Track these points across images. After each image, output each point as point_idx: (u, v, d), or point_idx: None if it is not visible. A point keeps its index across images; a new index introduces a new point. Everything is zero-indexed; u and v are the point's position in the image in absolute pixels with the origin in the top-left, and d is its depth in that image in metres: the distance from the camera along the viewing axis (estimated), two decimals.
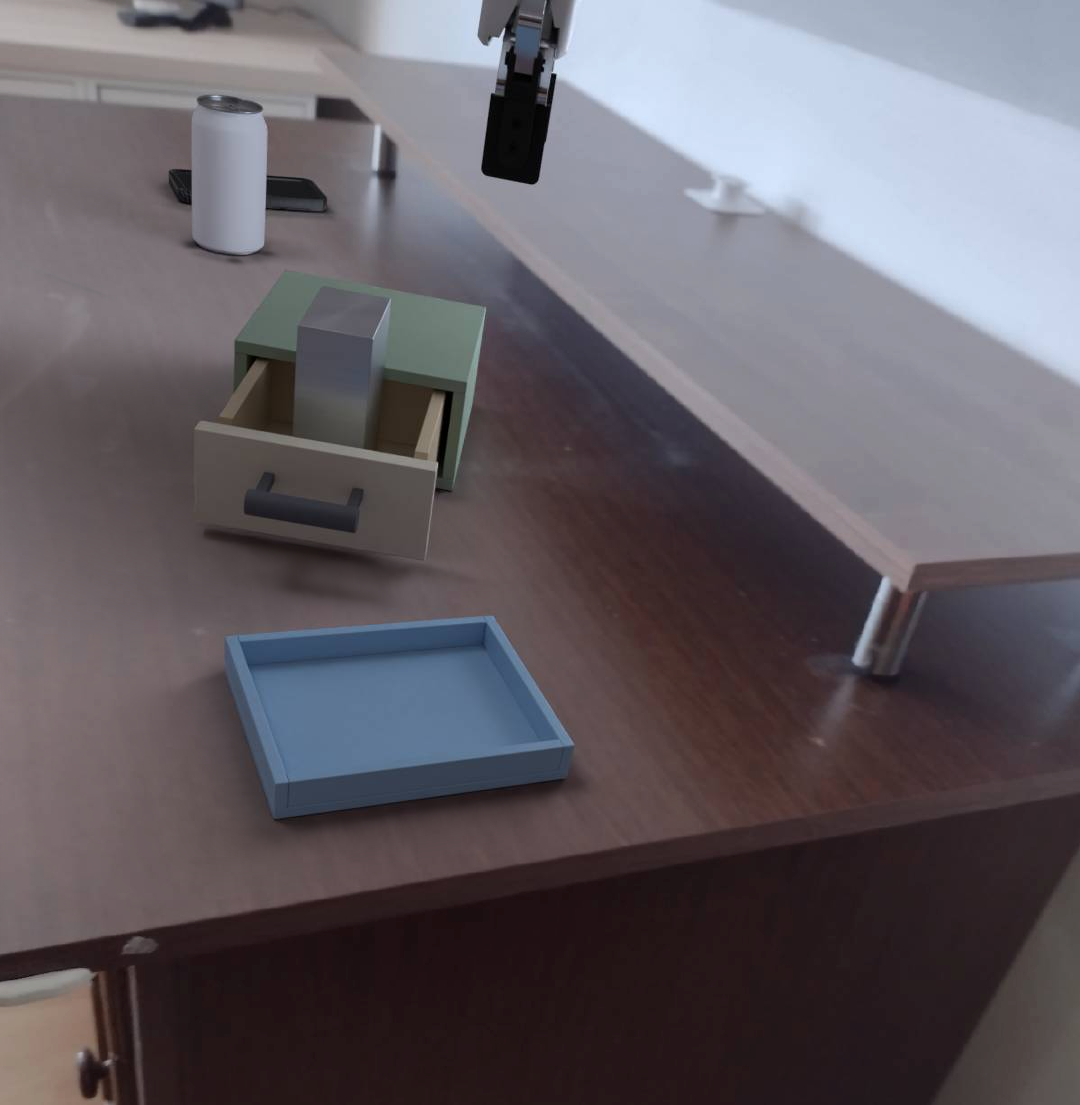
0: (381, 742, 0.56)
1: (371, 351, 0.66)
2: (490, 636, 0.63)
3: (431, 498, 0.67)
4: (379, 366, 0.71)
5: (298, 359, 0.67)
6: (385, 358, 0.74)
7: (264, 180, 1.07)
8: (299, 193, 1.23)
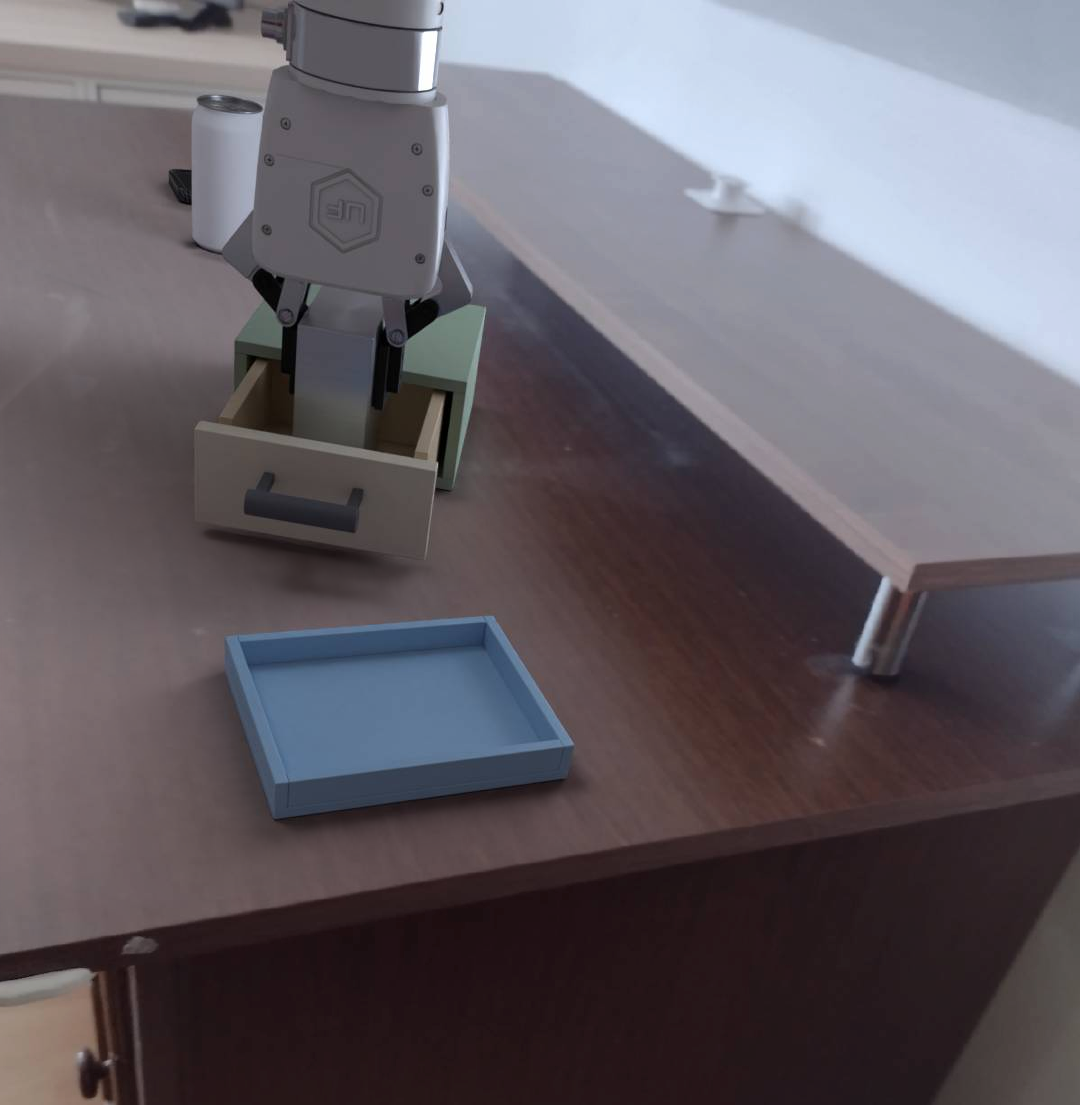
0: (381, 742, 0.56)
1: (371, 351, 0.66)
2: (490, 636, 0.63)
3: (431, 498, 0.67)
4: None
5: (298, 359, 0.67)
6: None
7: None
8: None
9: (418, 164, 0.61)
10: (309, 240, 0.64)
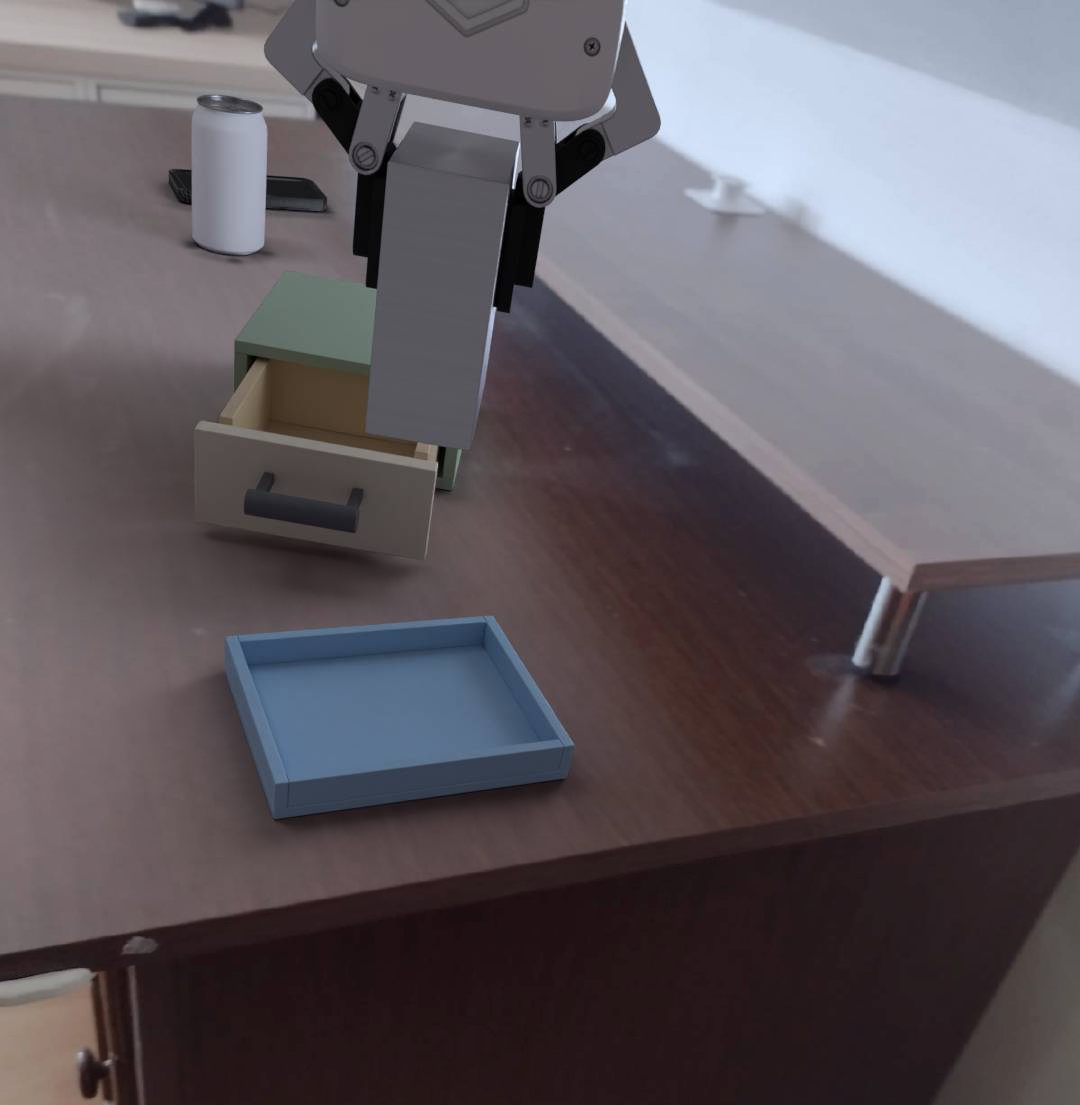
0: (381, 742, 0.56)
1: (504, 207, 0.41)
2: (490, 636, 0.63)
3: (431, 498, 0.67)
4: None
5: (387, 221, 0.42)
6: None
7: (264, 180, 1.07)
8: (299, 193, 1.23)
9: None
10: (411, 14, 0.39)
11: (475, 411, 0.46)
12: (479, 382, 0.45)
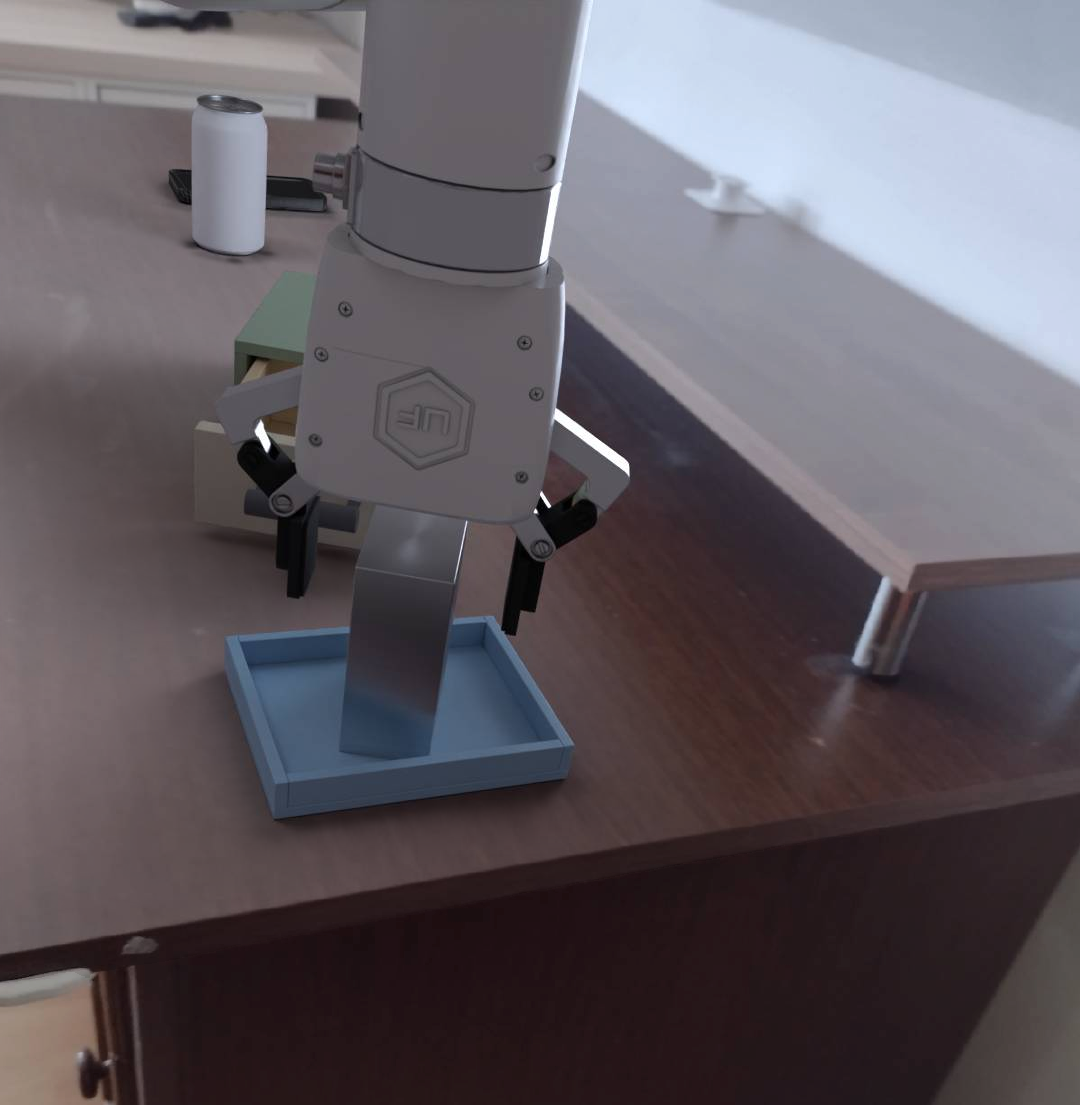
0: None
1: (451, 598, 0.50)
2: (490, 636, 0.63)
3: None
4: (455, 596, 0.55)
5: (355, 606, 0.51)
6: (459, 576, 0.57)
7: (264, 180, 1.07)
8: (299, 193, 1.23)
9: (525, 362, 0.45)
10: (373, 454, 0.47)
11: (431, 737, 0.55)
12: (434, 717, 0.54)
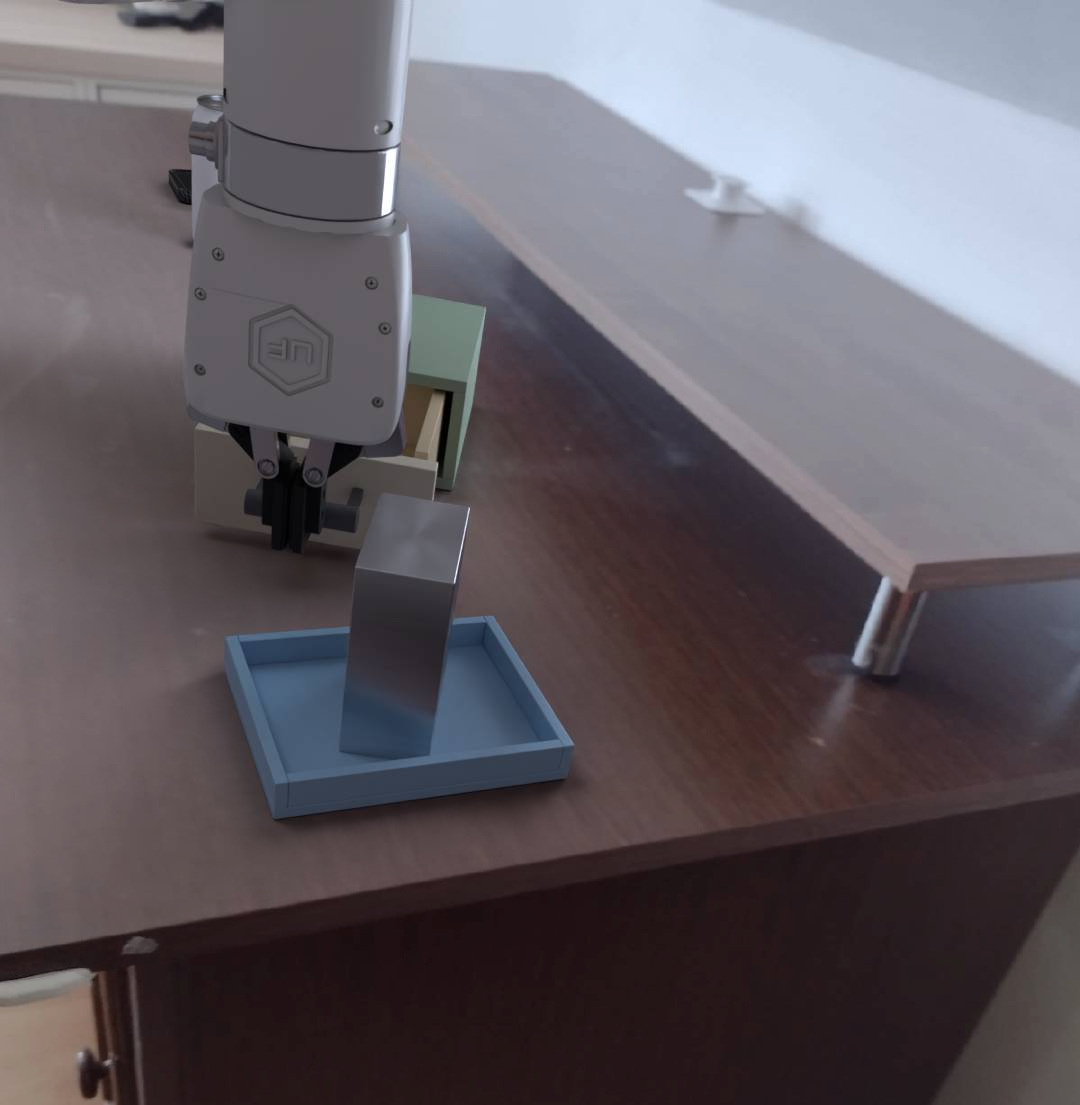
0: None
1: (451, 598, 0.50)
2: (490, 636, 0.63)
3: (431, 498, 0.67)
4: (455, 596, 0.55)
5: (355, 606, 0.51)
6: (459, 576, 0.57)
7: None
8: None
9: (373, 300, 0.53)
10: (249, 382, 0.55)
11: (431, 737, 0.55)
12: (434, 717, 0.54)
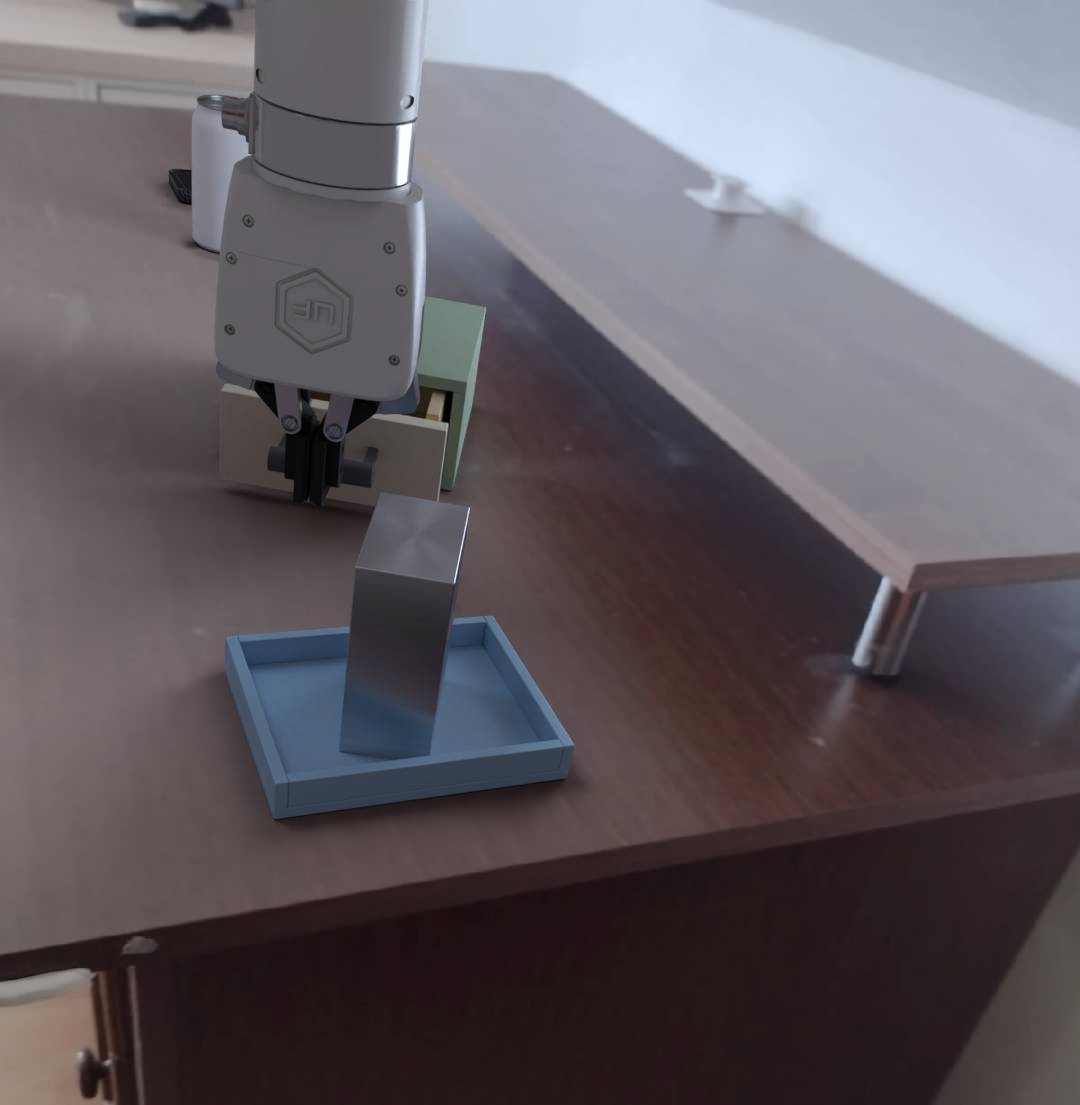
0: None
1: (451, 598, 0.50)
2: (490, 636, 0.63)
3: (442, 457, 0.72)
4: (455, 596, 0.55)
5: (355, 606, 0.51)
6: (459, 576, 0.57)
7: None
8: None
9: (390, 264, 0.57)
10: (275, 341, 0.59)
11: (431, 737, 0.55)
12: (434, 717, 0.54)
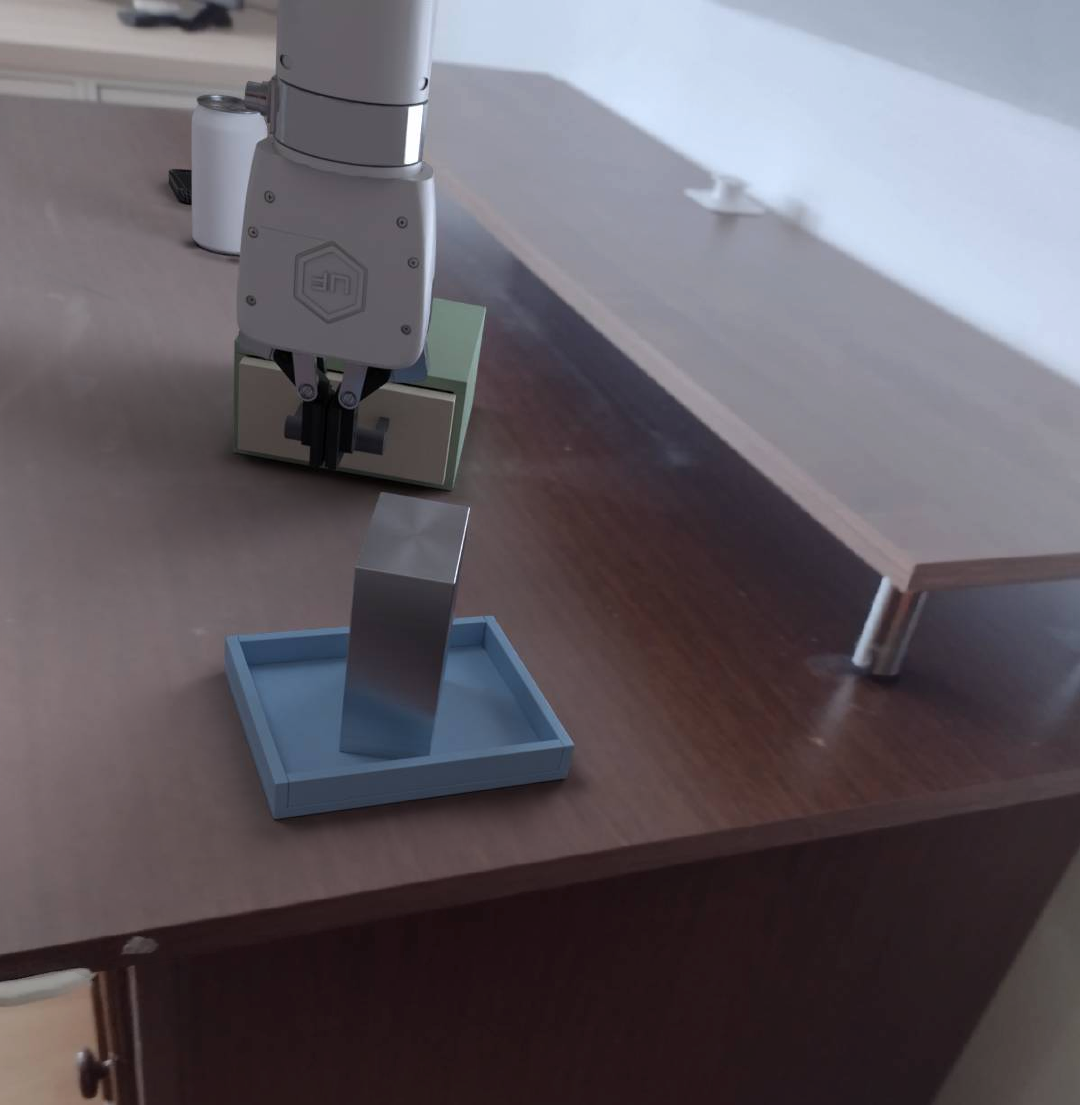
0: None
1: (451, 598, 0.50)
2: (490, 636, 0.63)
3: (449, 427, 0.75)
4: (455, 596, 0.55)
5: (355, 606, 0.51)
6: (459, 576, 0.57)
7: None
8: None
9: (403, 238, 0.61)
10: (294, 311, 0.63)
11: (431, 737, 0.55)
12: (434, 717, 0.54)
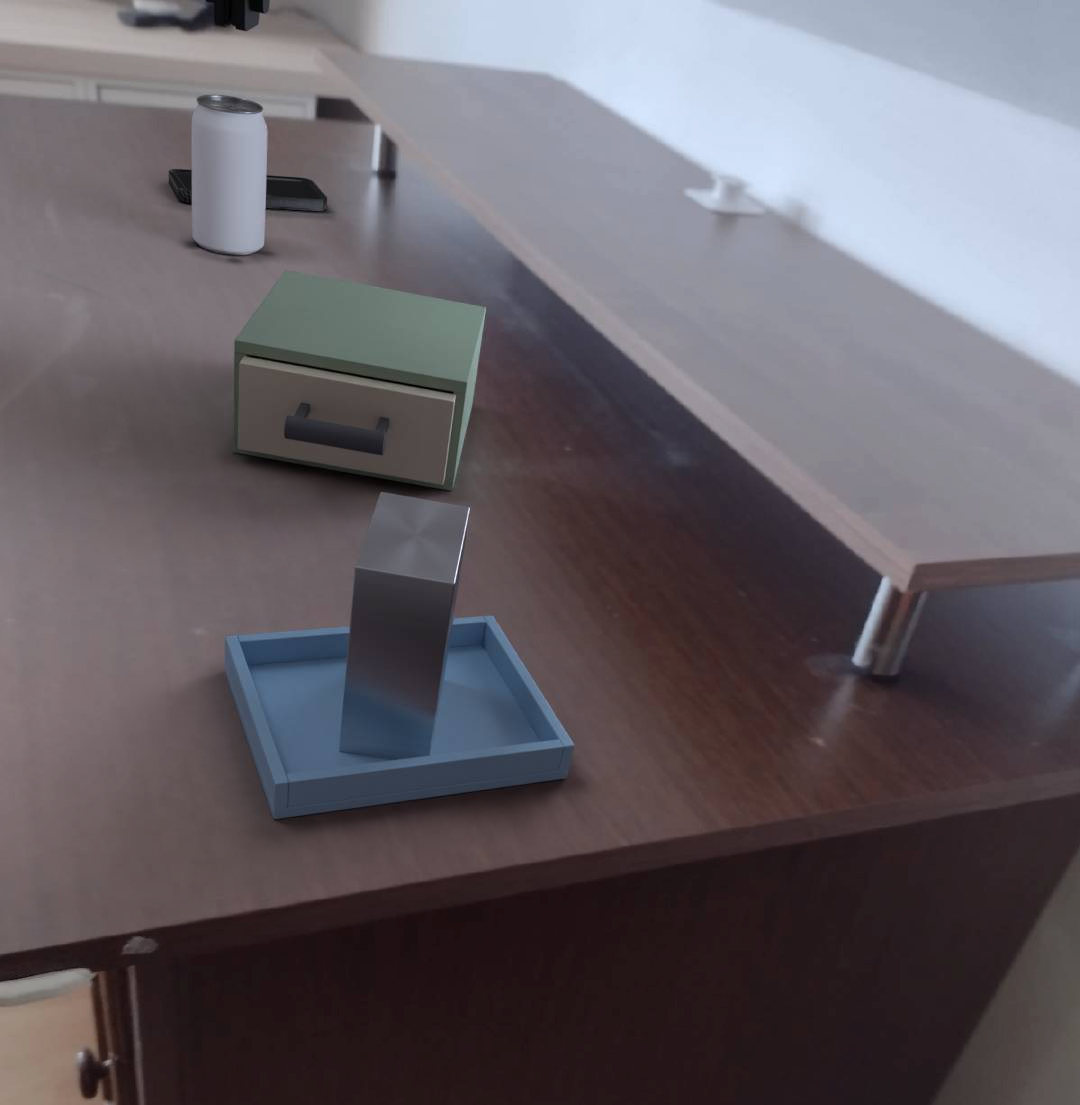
0: None
1: (451, 598, 0.50)
2: (490, 636, 0.63)
3: (449, 427, 0.75)
4: (455, 596, 0.55)
5: (355, 606, 0.51)
6: (459, 576, 0.57)
7: (264, 180, 1.07)
8: (299, 193, 1.23)
9: None
10: None
11: (431, 737, 0.55)
12: (434, 717, 0.54)
